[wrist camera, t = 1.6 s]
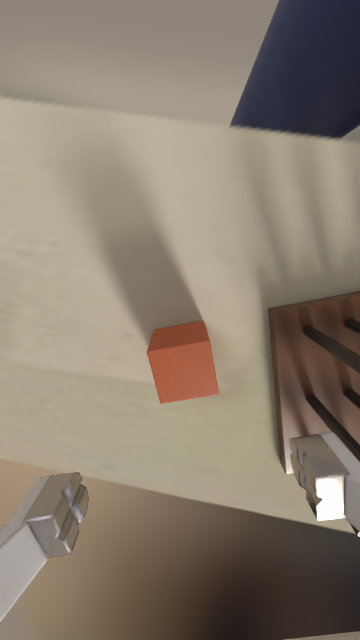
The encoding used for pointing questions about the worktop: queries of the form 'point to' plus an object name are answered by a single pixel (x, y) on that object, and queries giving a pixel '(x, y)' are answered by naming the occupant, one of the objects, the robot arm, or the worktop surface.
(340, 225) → the worktop surface
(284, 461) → the dish rack
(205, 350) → the block
